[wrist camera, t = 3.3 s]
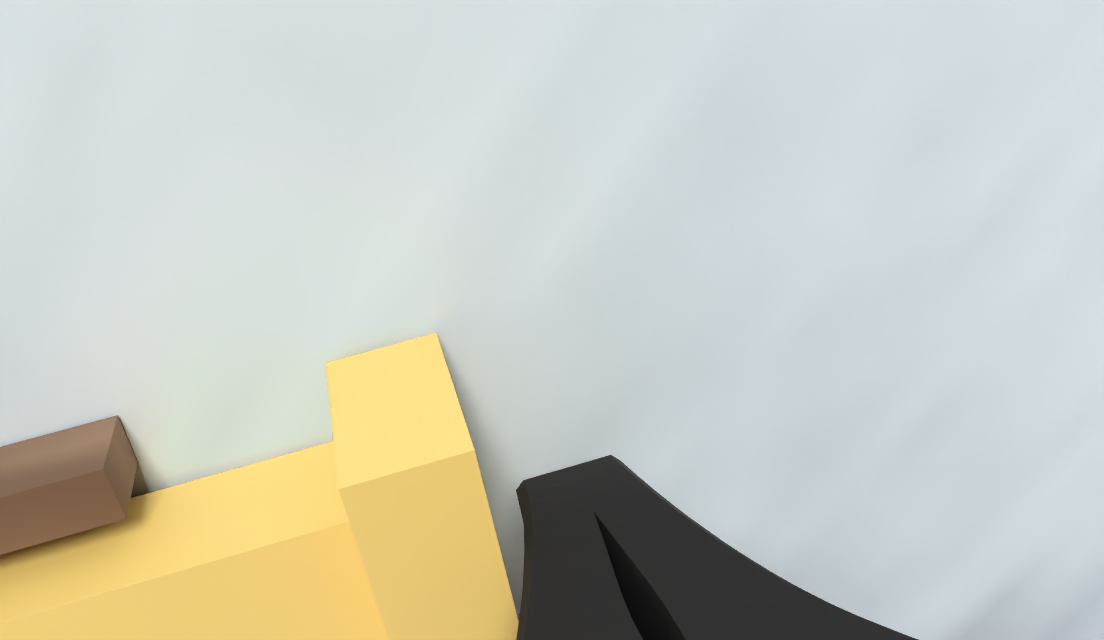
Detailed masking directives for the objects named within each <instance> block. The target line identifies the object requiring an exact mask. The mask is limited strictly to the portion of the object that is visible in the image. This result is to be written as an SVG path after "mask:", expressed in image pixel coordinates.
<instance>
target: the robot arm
mask: <svg viewBox="0 0 1104 640" xmlns="http://www.w3.org/2000/svg"><path fill="white" fill-rule="evenodd" d="M516 492H517V496H518V500H519V505H520V509H521V513H522V517H523V522H524V544H525V555H524V575H523V592H522V602H521V609H520V616H519V624H518V631H517V638H516V640H918V639H915V638H912V637H909V636H907V635H904V634H902V633H899V632H897V631H894V630H892V629H889V628H887V627H884V626H881V625H879V624H876V623H874V622H871V621H869V620H866V619H864V618H861V617H859V616H857V615H854V614H852V613H850V612H848V611H845V610H843V609H841V608H839V607H836V606H834V605H832V604H830V603H828V602H826V601H824V600H822V599H820V598H818V597H816V596H814V595H812V594H810V593H808V592H806V591H804V590H802V589H801V588H799V587H797V586H795V585H793V584H791V583H790V582H788V581H786V580H784V579H783V578H781V577H779V576H777V575H776V574H774V573H772V572H770V571H769V570H767V569H766V568H764V567H762V566H761V565H759V564H757V563H756V562H754V561H753V560H751V559H749V558H748V557H746V556H745V555H743V554H741V553H740V552H738V551H737V550H735V549H734V548H732V547H731V546H729V545H728V544H726V543H725V542H723V541H722V540H720V539H719V538H717V537H716V536H715V535H713V534H712V533H710V532H709V531H708V530H706V529H705V528H703V527H702V526H701V525H699V524H698V523H696V522H695V521H694V520H692V519H691V518H689V517H688V516H687V515H685V514H684V513H683V512H681V511H680V510H679V509H678V508H676V507H675V506H674V505H672V504H671V503H670V502H669V501H667V500H666V499H665V498H664V497H662V496H661V495H660V494H659V493H657V492H656V491H655V490H654V489H652V488H651V487H650V486H649V485H648V484H646V483H645V482H644V481H643V480H642V479H641V478H639V477H638V476H637V475H636V474H635V473H634V472H632V471H631V470H630V469H629V468H628V467H627V466H626V465H625V464H624V463H622V462H621V461H620V460H619V459H617V458H615V457H613V456H612V455H609V456H606V457H602V458H599V459H595V460H592V461H588V462H585V463H582V464H578V465H575V466H571V467H568V468H564V469H561V470H558V471H554V472H551V473H547V474H544V475H540V476H537V477H534V478H530V479H527V480H523V482H522V483H521V484H520V486H519V487H518V489H517V490H516Z"/></svg>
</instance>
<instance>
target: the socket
mask: <svg viewBox="0 0 1104 640" xmlns="http://www.w3.org/2000/svg"><path fill="white" fill-rule="evenodd" d="M137 465H138V461H137V459H136V457H135V455H134V452H133V450H132V448H131V445H130V443H129V441H128V439H127V436H126V434H125V432H124V429H123V427H122V425H121V423H120V420H119V418H118V416H114V417H110V418H106V419H102V420H99V421H95V422H91V423H88V424H84V425H80V426H77V427H73V428H69V429H66V430H62V431H58V432H55V433H51V434H47V435H43V436H40V437H36V438H32V439H29V440H25V441H21V442H18V443H14V444H10V445H7V446H3V447H0V555H1V554H5V553H8V552H12V551H15V550H19V549H22V548H26V547H29V546H33V545H37V544H40V543H44V542H47V541H51V540H54V539H58V538H61V537H65V536H68V535H72V534H75V533H79V532H82V531H86V530H89V529H93V528H96V527H100V526H103V525H107V524H110V523H114V522H117V521H121V520H124V519H126V518H127V513H128V508H129V503H130V499H131V494H132V489H133V484H134V480H135V475H136V470H137Z"/></svg>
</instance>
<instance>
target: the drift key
mask: <svg viewBox="0 0 1104 640" xmlns="http://www.w3.org/2000/svg"><path fill="white" fill-rule="evenodd" d="M326 373H327V383H328V393H329V402H330V412H331V422H332V432H333V441H332V442H328V443H325V444H321V445H317V446H314V447H310V448H307V449H303V450H300V451H296V452H293V453H289V454H286V455H282V456H278V457H275V458H271V459H268V460H264V461H261V462H257V463H254V464H250V465H247V466H243V467H239V468H236V469H232V470H229V471H225V472H222V473H218V474H215V475H211V476H207V477H204V478H200V479H197V480H193V481H190V482H186V483H183V484H179V485H176V486H172V487H168V488H165V489H161V490H158V491H154V492H151V493H147V494H144V495H140V496H137V497H133V498H131V499H130V503H129V508H128V513H127V518H126V519H124V520H121V521H117V522H114V523H110V524H107V525H103V526H100V527H96V528H93V529H89V530H86V531H82V532H79V533H75V534H72V535H68V536H65V537H61V538H58V539H54V540H51V541H47V542H44V543H40V544H37V545H33V546H29V547H26V548H22V549H19V550H15V551H12V552H8V553H5V554H1V555H0V640H516V638H517V631H518V624H519V621H518V617H517V613H516V609H515V605H514V601H513V597H512V594H511V590H510V586H509V582H508V578H507V574H506V570H505V566H504V562H503V558H502V555H501V551H500V547H499V543H498V539H497V535H496V531H495V527H494V523H493V519H492V516H491V512H490V508H489V504H488V500H487V496H486V492H485V488H484V484H483V480H482V477H481V473H480V469H479V465H478V461H477V457H476V453H475V449H474V446H473V443H472V440H471V437H470V434H469V431H468V428H467V425H466V422H465V419H464V416H463V413H462V410H461V407H460V404H459V400H458V397H457V394H456V391H455V388H454V385H453V382H452V379H451V376H450V373H449V370H448V367H447V364H446V361H445V358H444V355H443V352H442V349H441V345H440V342H439V339H438V336H437V333H433V334H430V335H426V336H422V337H419V338H415V339H411V340H408V341H404V342H400V343H396V344H393V345H389V346H385V347H382V348H378V349H374V350H371V351H367V352H363V353H360V354H356V355H352V356H349V357H345V358H341V359H338V360H334V361H330V362H327V363H326Z"/></svg>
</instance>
